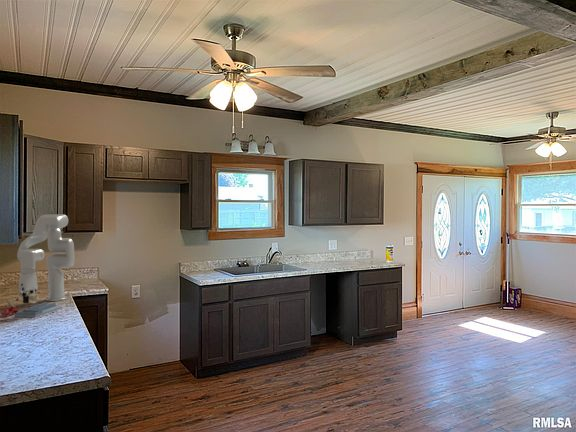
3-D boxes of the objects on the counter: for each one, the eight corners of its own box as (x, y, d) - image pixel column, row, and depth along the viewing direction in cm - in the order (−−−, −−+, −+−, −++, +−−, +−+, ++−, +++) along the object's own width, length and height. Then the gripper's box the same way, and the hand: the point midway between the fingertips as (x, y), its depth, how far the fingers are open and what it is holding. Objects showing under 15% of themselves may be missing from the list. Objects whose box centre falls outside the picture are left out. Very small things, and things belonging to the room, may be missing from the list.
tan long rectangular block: (23, 299, 260) (24, 292, 260) (38, 301, 258) (38, 294, 258) (18, 300, 256) (18, 293, 256) (33, 303, 254) (33, 295, 254)
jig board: (43, 307, 278) (42, 301, 278) (62, 307, 276) (61, 302, 276) (14, 316, 256) (14, 310, 255) (35, 317, 253) (35, 311, 253)
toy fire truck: (0, 317, 254) (-1, 300, 254) (19, 311, 267) (19, 296, 267) (5, 317, 253) (4, 301, 253) (24, 311, 267) (23, 296, 266)
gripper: (33, 269, 266) (33, 299, 266) (11, 273, 249) (12, 305, 249) (44, 269, 264) (44, 299, 265) (23, 273, 248) (23, 305, 248)
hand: (28, 301), depth 257 cm, fingers closed on tan long rectangular block, 4 cm apart
